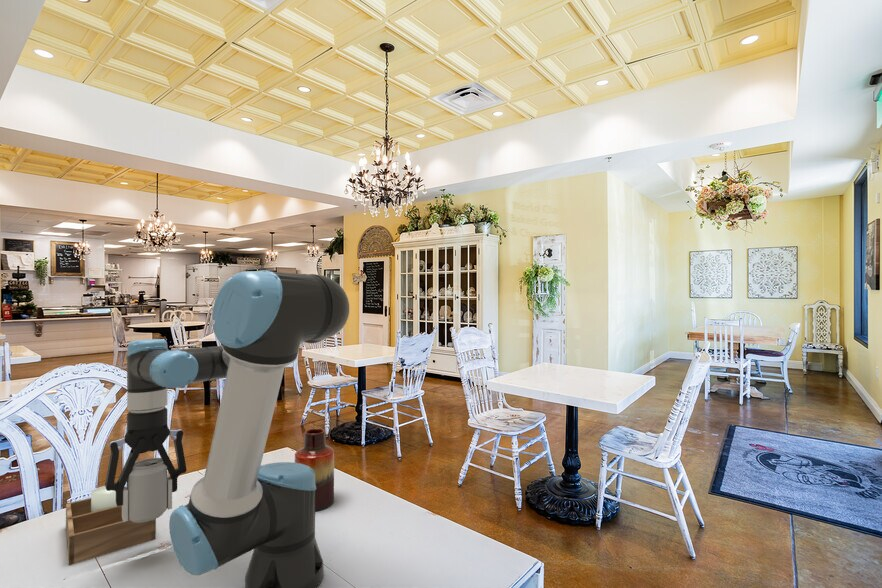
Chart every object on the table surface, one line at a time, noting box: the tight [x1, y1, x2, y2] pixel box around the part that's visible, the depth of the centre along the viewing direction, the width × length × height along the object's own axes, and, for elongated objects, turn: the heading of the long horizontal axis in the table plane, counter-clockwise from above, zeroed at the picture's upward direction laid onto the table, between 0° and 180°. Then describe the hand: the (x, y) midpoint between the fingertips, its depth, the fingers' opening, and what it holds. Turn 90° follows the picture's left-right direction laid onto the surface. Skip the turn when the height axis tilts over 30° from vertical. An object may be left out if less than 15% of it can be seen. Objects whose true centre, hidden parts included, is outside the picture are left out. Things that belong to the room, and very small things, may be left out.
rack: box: [65, 497, 157, 566], centre depth 106 cm, size 20×16×7 cm
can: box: [126, 457, 168, 523], centre depth 97 cm, size 8×8×12 cm
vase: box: [294, 428, 335, 513], centre depth 124 cm, size 11×11×20 cm
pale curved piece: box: [90, 485, 117, 512], centre depth 109 cm, size 7×7×9 cm
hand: (147, 512), depth 97 cm, fingers closed on can, 8 cm apart
